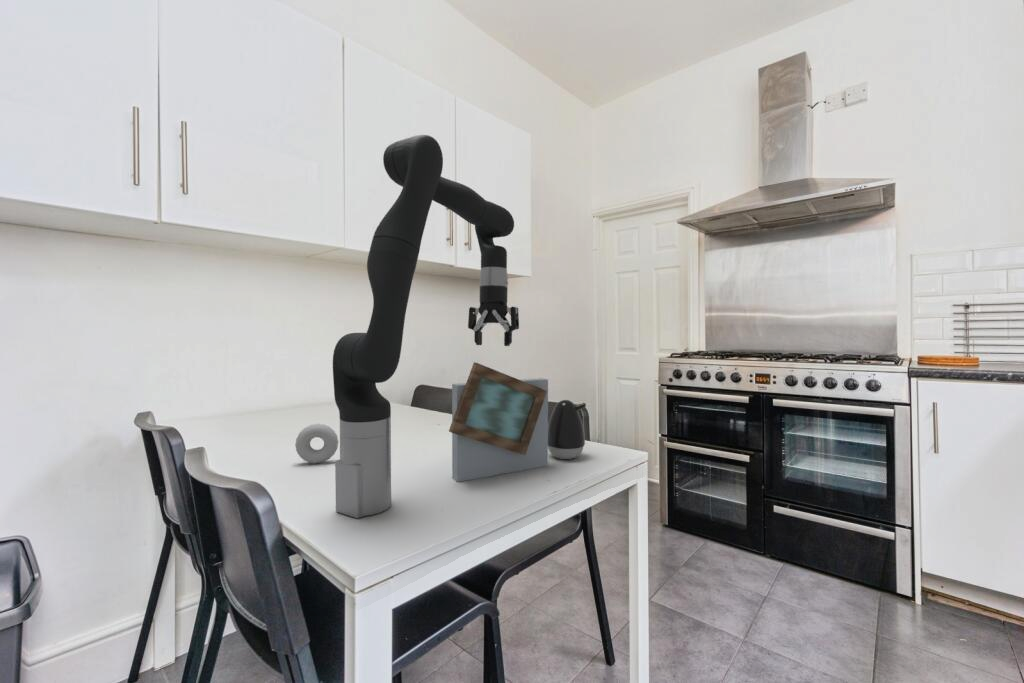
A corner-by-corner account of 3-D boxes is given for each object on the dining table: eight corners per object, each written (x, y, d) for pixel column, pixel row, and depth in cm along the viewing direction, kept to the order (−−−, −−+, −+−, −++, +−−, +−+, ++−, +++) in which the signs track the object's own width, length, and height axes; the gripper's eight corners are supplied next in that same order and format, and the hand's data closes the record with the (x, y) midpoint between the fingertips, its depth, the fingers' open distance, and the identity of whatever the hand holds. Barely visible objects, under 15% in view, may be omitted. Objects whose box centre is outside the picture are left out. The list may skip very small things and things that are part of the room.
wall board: (457, 481, 98) (457, 385, 97) (452, 477, 101) (452, 383, 100) (547, 465, 110) (548, 379, 109) (541, 462, 112) (541, 378, 112)
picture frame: (451, 432, 95) (476, 362, 97) (448, 431, 96) (473, 362, 99) (525, 455, 104) (547, 390, 106) (522, 453, 105) (543, 390, 108)
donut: (294, 466, 108) (293, 426, 108) (297, 462, 112) (296, 423, 111) (337, 463, 111) (337, 424, 110) (339, 459, 114) (339, 421, 114)
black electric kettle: (588, 462, 112) (589, 403, 112) (547, 462, 112) (548, 403, 112) (582, 451, 122) (582, 396, 122) (544, 451, 122) (545, 396, 122)
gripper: (463, 285, 119) (463, 345, 119) (511, 283, 113) (511, 346, 113) (477, 287, 125) (476, 344, 126) (523, 286, 120) (522, 345, 120)
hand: (492, 345), depth 119 cm, fingers open, 8 cm apart
